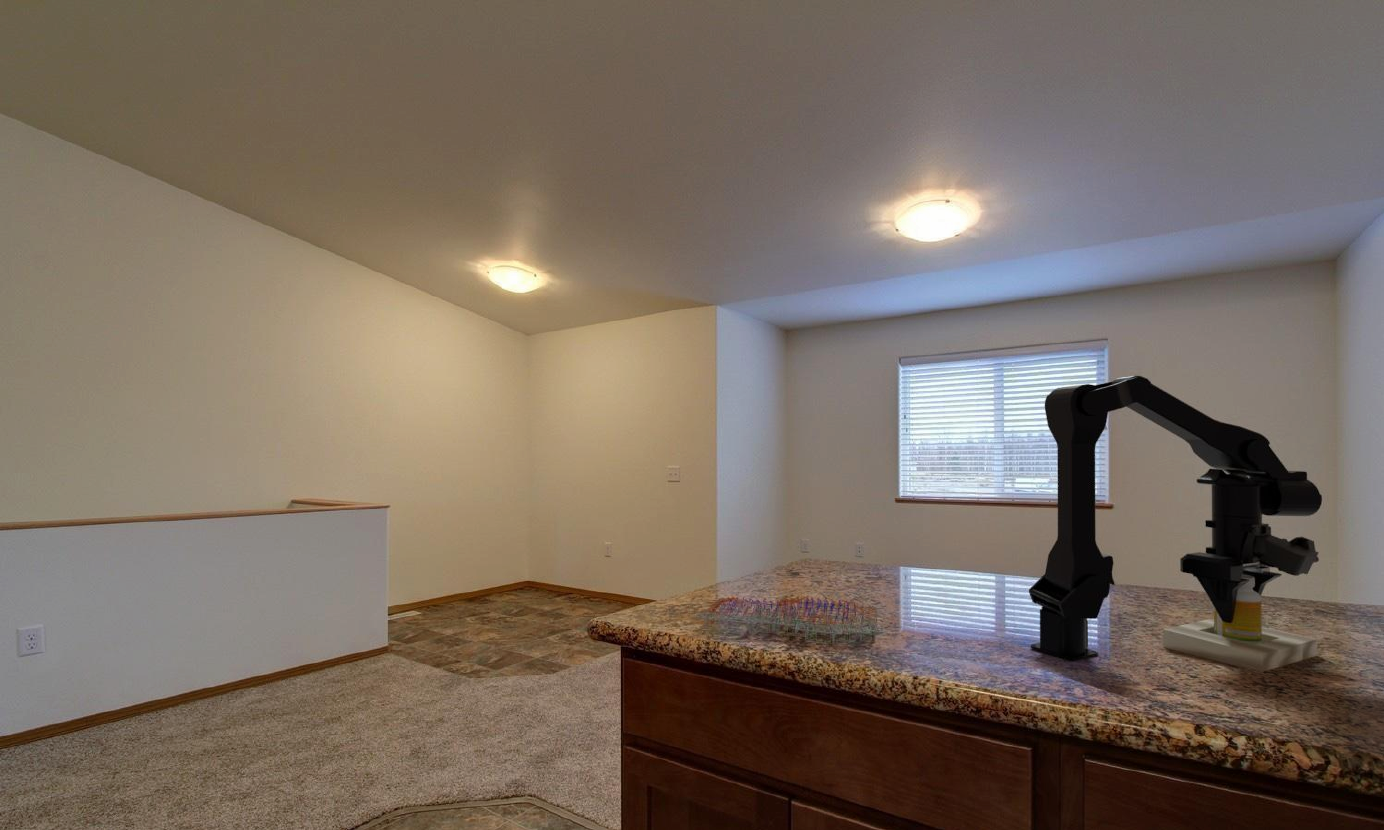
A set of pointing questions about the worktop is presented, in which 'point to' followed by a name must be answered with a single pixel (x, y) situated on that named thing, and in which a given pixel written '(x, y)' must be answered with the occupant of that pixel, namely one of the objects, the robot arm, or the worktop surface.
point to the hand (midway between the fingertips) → (1237, 620)
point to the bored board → (1240, 646)
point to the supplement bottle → (1243, 616)
